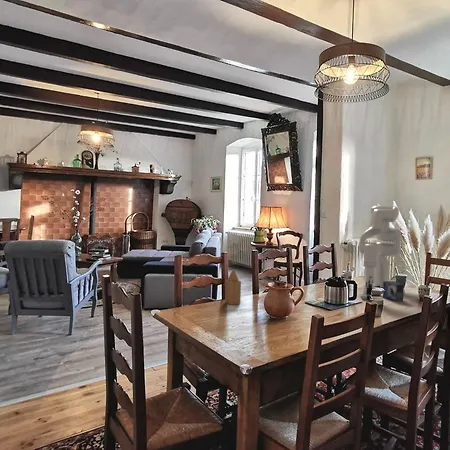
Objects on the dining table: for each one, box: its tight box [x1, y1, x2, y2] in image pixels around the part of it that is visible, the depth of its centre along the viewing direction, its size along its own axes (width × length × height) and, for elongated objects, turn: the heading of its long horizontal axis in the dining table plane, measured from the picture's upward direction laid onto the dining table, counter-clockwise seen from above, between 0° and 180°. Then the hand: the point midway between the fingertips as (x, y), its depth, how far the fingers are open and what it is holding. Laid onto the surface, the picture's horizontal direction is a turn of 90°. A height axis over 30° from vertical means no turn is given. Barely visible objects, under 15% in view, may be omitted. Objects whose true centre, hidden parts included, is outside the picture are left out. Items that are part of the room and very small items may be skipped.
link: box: [362, 284, 376, 296], centre depth 234 cm, size 6×6×5 cm
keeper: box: [360, 295, 371, 301], centre depth 234 cm, size 8×8×6 cm
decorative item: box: [224, 268, 242, 306], centre depth 216 cm, size 7×7×20 cm
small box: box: [382, 280, 405, 303], centre depth 236 cm, size 11×6×10 cm, turn 25°
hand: (368, 293), depth 234 cm, fingers closed on link, 6 cm apart
